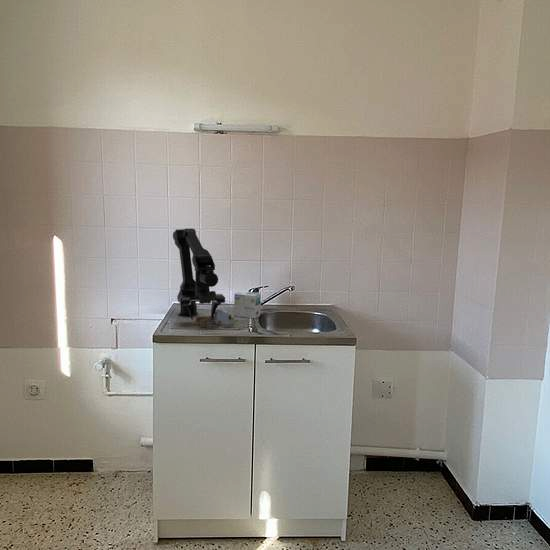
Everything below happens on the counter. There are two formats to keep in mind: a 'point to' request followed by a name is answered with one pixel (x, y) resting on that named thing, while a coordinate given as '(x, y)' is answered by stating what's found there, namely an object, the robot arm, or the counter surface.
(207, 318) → the trap lane
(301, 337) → the counter surface
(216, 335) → the counter surface
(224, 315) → the slate block
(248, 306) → the light bulb box
